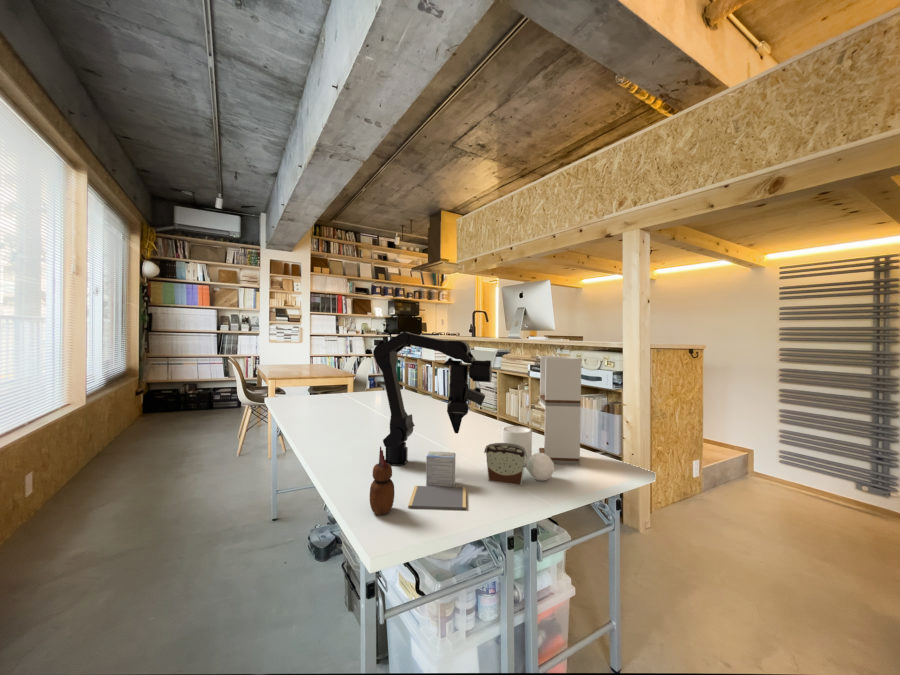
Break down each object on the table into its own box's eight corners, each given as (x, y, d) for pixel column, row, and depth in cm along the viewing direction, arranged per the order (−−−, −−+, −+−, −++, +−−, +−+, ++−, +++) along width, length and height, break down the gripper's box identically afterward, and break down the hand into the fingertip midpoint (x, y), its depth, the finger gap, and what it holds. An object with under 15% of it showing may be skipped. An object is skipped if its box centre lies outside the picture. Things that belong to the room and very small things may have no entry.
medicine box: (455, 482, 108) (455, 452, 108) (454, 488, 103) (454, 457, 103) (428, 480, 108) (428, 450, 108) (425, 487, 104) (426, 455, 104)
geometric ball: (546, 488, 111) (564, 468, 110) (532, 485, 106) (550, 464, 104) (531, 468, 117) (547, 449, 115) (517, 464, 112) (534, 445, 110)
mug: (493, 453, 134) (493, 424, 134) (520, 452, 136) (520, 422, 136) (507, 467, 121) (507, 434, 120) (536, 465, 123) (537, 432, 123)
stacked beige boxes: (571, 454, 134) (572, 356, 134) (579, 464, 124) (581, 358, 123) (539, 453, 135) (540, 356, 135) (544, 463, 124) (546, 358, 124)
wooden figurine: (371, 505, 92) (372, 444, 92) (395, 504, 93) (395, 444, 93) (367, 518, 86) (368, 453, 86) (393, 517, 86) (394, 452, 86)
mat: (408, 508, 91) (408, 505, 91) (414, 487, 103) (414, 485, 103) (465, 509, 90) (465, 507, 90) (465, 489, 102) (465, 487, 102)
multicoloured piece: (529, 478, 111) (529, 445, 111) (526, 486, 105) (527, 451, 105) (488, 473, 115) (488, 440, 115) (483, 480, 109) (484, 446, 109)
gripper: (486, 385, 109) (484, 438, 109) (482, 377, 128) (480, 423, 128) (448, 383, 109) (445, 437, 109) (449, 376, 128) (447, 421, 128)
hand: (456, 429), depth 119 cm, fingers open, 9 cm apart
